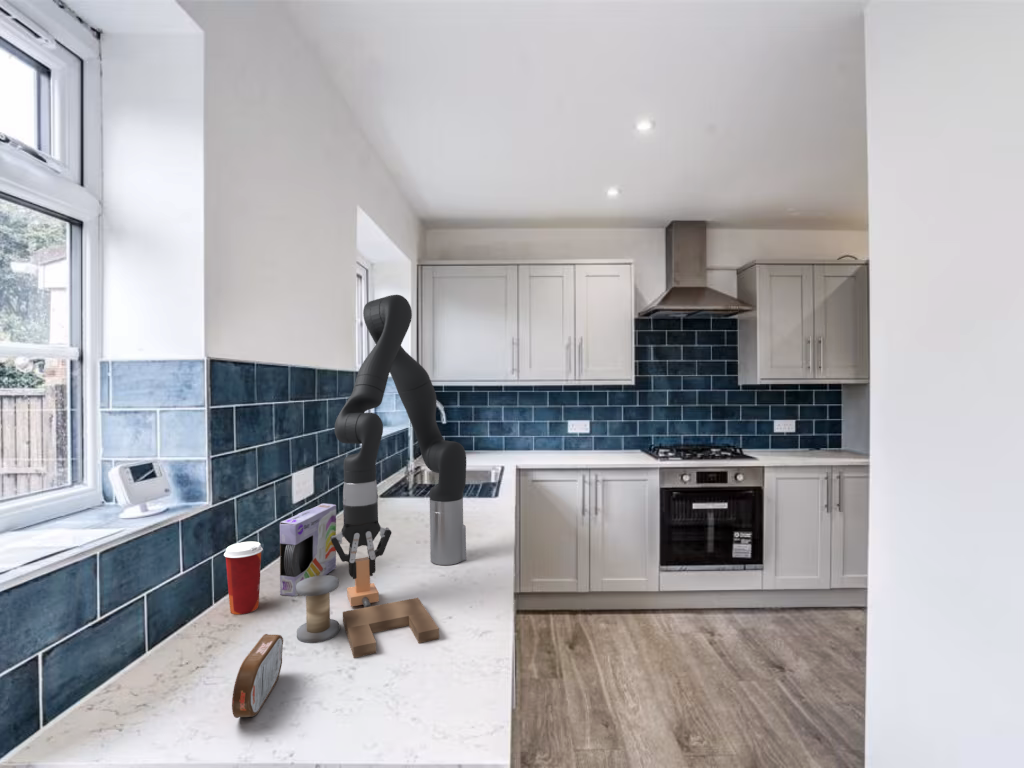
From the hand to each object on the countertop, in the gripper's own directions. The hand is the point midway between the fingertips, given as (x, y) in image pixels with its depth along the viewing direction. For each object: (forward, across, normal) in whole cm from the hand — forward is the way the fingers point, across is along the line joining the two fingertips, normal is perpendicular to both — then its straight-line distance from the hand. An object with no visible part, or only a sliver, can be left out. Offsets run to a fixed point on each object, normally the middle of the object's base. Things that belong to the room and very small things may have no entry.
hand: (362, 576), depth 118 cm
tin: (+6, +20, +30) cm, 37 cm away
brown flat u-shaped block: (+6, -3, +16) cm, 17 cm away
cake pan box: (+6, +10, -18) cm, 22 cm away
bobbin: (+6, +10, +11) cm, 16 cm away
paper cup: (+6, +24, -8) cm, 26 cm away
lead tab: (+5, 0, +2) cm, 6 cm away
